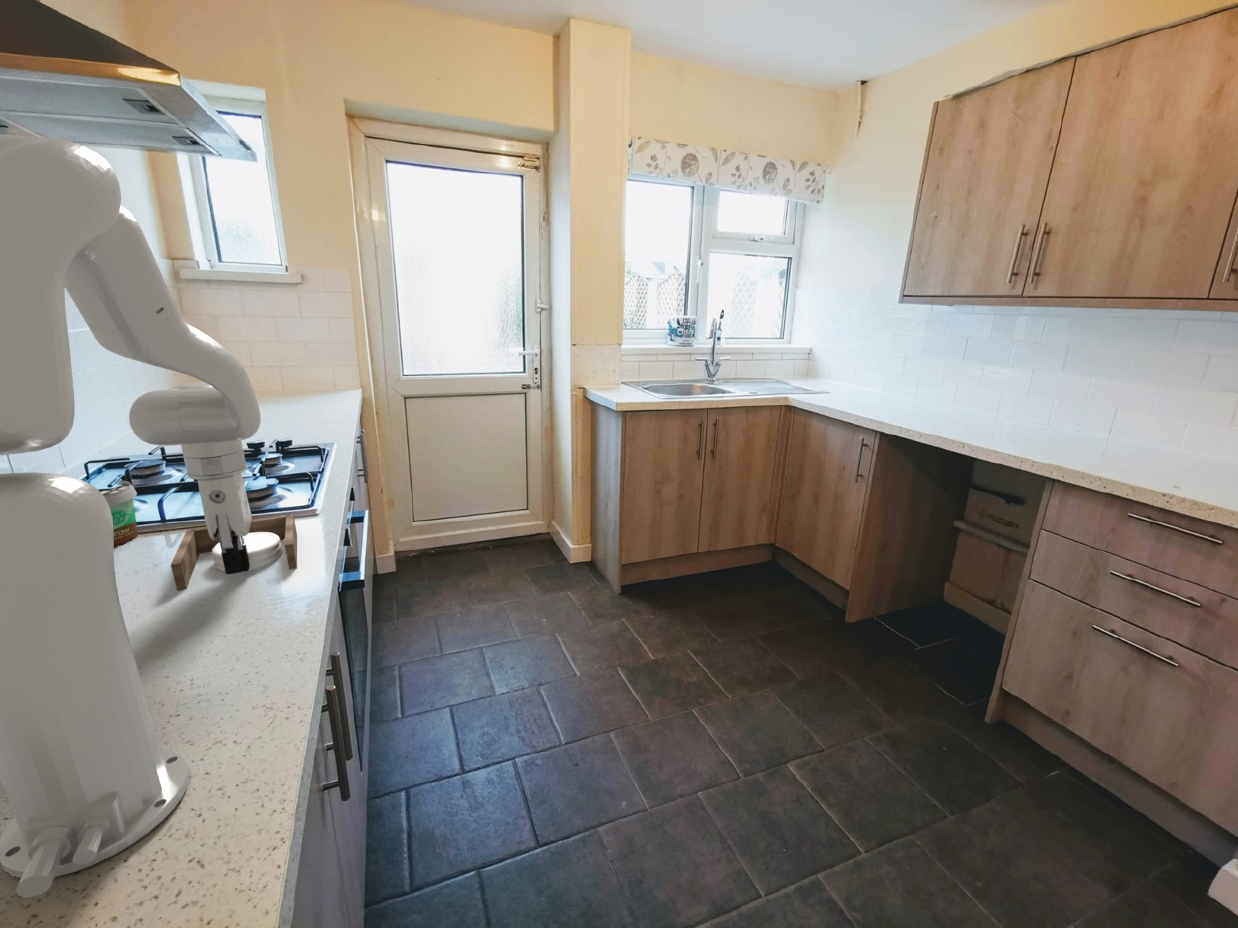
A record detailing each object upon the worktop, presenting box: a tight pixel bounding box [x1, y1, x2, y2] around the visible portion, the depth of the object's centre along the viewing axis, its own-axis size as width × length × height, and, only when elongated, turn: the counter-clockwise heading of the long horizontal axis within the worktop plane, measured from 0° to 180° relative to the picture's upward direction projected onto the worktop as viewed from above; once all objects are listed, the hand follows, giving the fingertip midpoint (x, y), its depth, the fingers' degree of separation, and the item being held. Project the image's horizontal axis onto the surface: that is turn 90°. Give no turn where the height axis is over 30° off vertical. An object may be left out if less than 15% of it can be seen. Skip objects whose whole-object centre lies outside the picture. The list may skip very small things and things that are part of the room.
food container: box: [99, 480, 139, 548], centre depth 103 cm, size 12×6×10 cm, turn 168°
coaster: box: [211, 532, 283, 573], centre depth 98 cm, size 10×10×4 cm
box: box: [170, 513, 298, 592], centre depth 97 cm, size 15×16×4 cm
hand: (238, 570), depth 92 cm, fingers closed
